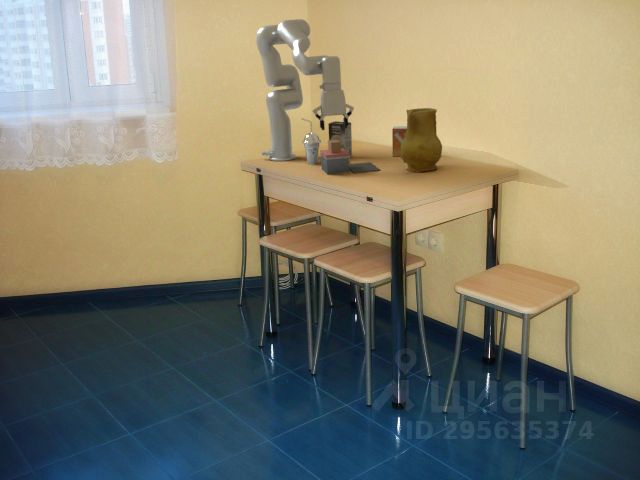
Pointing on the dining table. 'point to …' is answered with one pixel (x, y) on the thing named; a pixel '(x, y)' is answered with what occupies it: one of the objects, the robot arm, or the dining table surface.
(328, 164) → the tin
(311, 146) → the cup with straw
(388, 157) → the dining table surface
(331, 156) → the lid
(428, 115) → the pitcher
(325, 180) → the dining table surface
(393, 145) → the small box
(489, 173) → the dining table surface
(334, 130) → the coffee box
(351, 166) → the mat
